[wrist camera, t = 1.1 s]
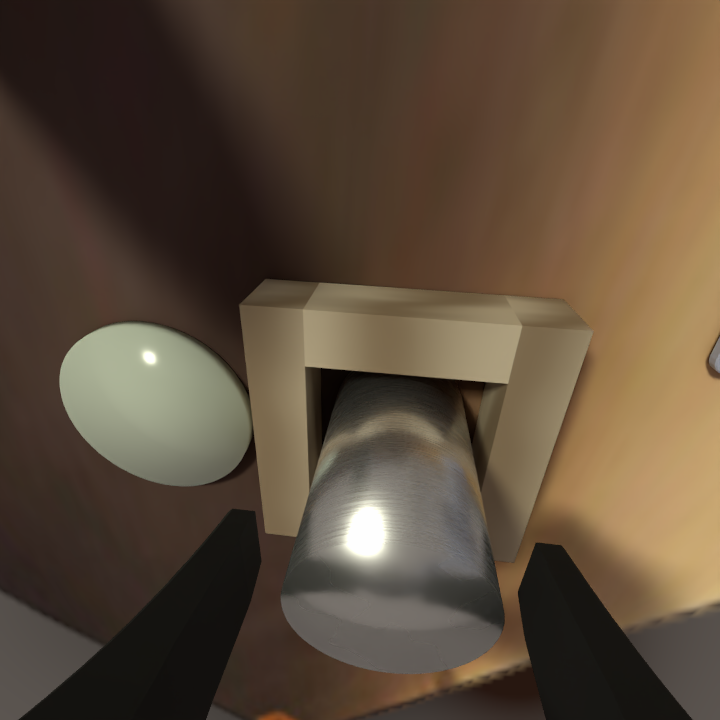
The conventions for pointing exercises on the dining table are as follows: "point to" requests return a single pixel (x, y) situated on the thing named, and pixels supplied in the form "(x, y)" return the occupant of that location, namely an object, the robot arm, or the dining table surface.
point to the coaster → (157, 403)
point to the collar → (416, 358)
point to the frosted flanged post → (395, 533)
